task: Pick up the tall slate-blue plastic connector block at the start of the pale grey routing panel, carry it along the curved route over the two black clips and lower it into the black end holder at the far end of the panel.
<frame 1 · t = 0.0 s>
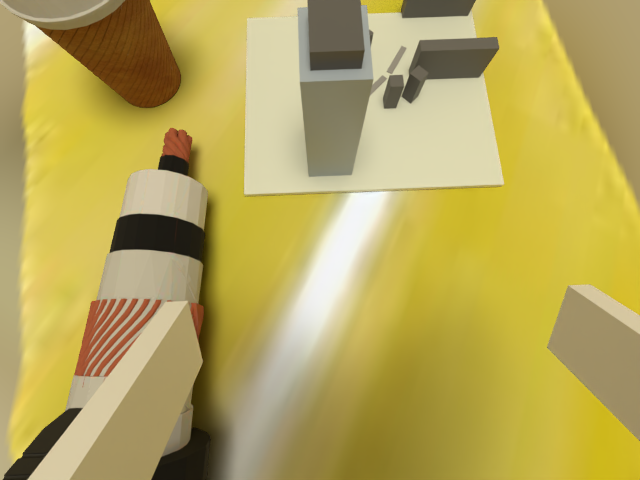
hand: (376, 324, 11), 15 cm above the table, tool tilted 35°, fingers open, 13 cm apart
cable: (174, 332, 26), on the table
routing panel: (365, 98, 30), on the table
disposable coffee cup: (151, 82, 31), on the table
connector: (329, 151, 28), resting on routing panel
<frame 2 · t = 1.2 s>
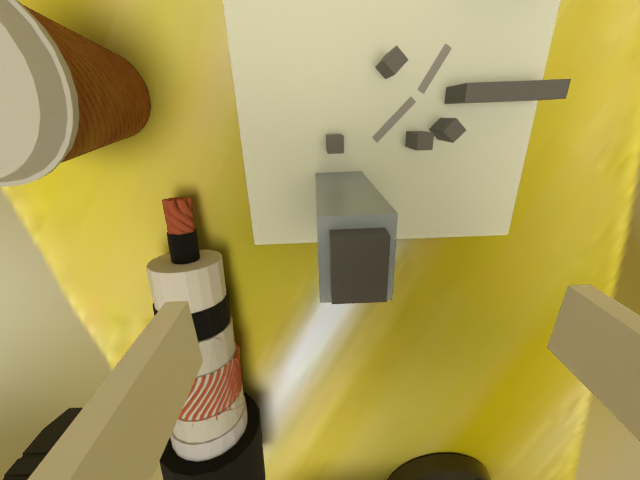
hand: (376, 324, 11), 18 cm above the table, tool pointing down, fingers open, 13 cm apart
cable: (216, 341, 34), on the table
routing panel: (385, 126, 25), on the table
disposable coffee cup: (111, 96, 24), on the table
connector: (338, 200, 27), resting on routing panel
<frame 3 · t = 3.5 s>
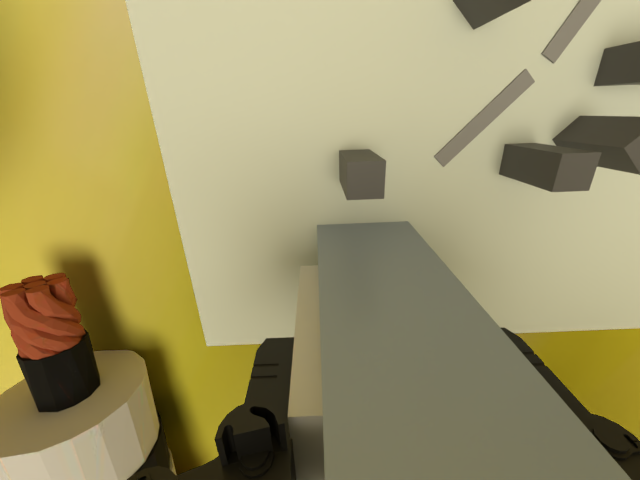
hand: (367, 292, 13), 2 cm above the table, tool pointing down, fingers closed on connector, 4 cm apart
cable: (162, 473, 21), on the table
routing panel: (460, 134, 12), on the table
connector: (361, 273, 14), point 1 cm above the table, touching gripper, routing panel
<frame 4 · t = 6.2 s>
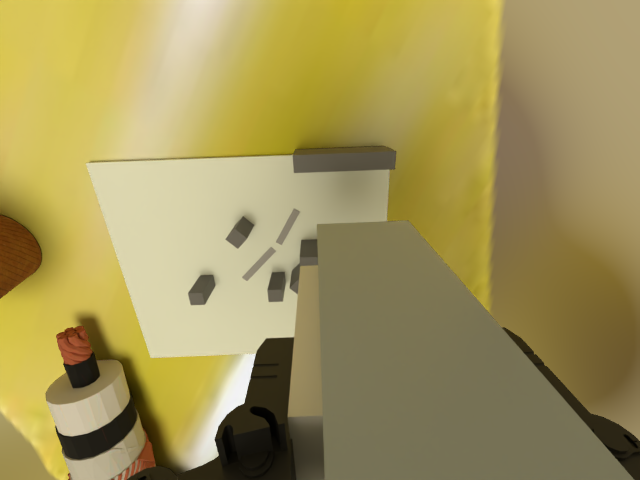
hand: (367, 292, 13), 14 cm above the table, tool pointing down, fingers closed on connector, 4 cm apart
cable: (136, 428, 37), on the table
routing panel: (254, 266, 28), on the table
disposable coffee cup: (6, 245, 27), on the table
connector: (361, 272, 14), point 13 cm above the table, touching gripper
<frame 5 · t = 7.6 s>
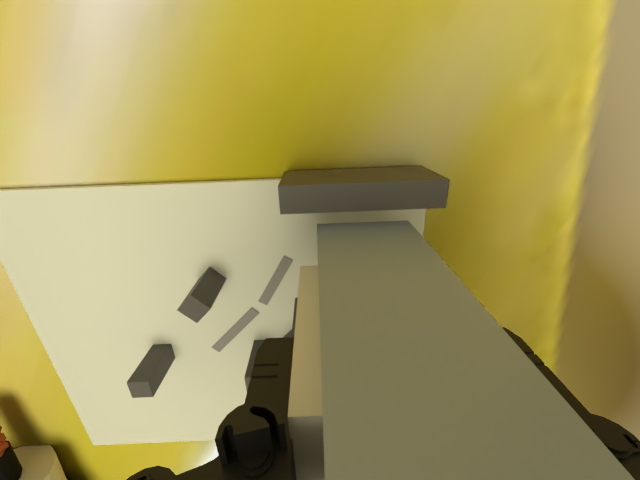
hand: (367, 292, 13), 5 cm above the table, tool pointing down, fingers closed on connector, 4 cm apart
routing panel: (230, 331, 20), on the table
connector: (361, 272, 14), point 4 cm above the table, touching gripper
when the fingers open (3 cm above the table, at t = 8.7 s): connector drops 1 cm, resting on routing panel.
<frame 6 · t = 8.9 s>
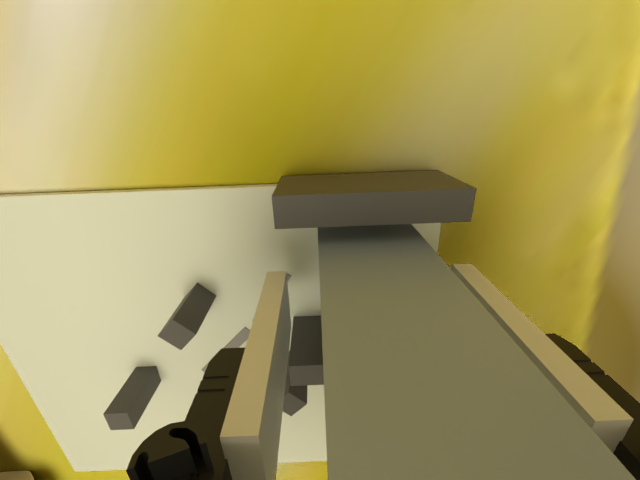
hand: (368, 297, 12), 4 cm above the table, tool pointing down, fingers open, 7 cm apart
routing panel: (222, 351, 18), on the table
connector: (358, 261, 15), point 1 cm above the table, touching routing panel
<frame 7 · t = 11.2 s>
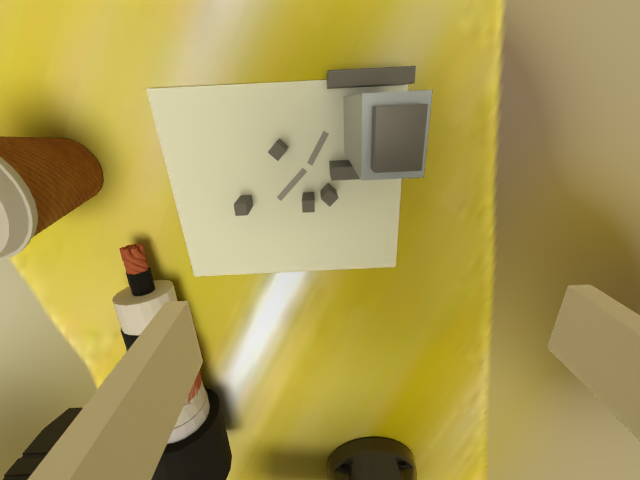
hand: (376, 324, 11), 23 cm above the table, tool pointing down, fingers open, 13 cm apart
cable: (182, 349, 42), on the table
routing panel: (287, 188, 32), on the table
disposable coffee cup: (72, 169, 31), on the table
connector: (364, 124, 29), resting on routing panel
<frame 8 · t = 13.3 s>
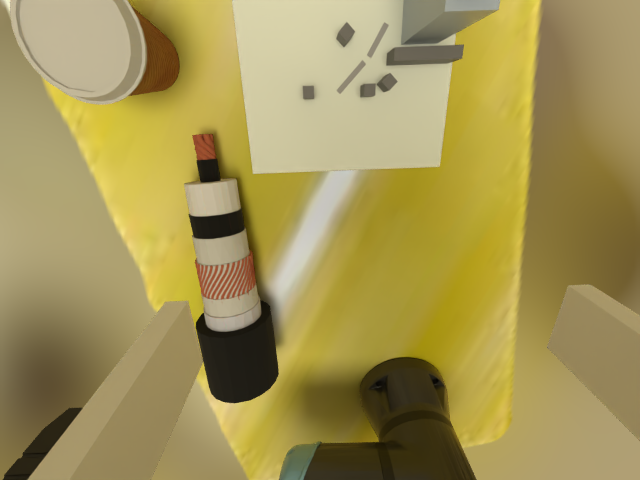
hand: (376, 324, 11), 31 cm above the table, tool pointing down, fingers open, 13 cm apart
cable: (234, 256, 44), on the table
routing panel: (346, 82, 35), on the table
disposable coffee cup: (151, 60, 34), on the table
connector: (421, 16, 32), resting on routing panel
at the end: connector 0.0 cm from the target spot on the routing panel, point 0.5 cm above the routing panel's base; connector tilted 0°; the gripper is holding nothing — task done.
